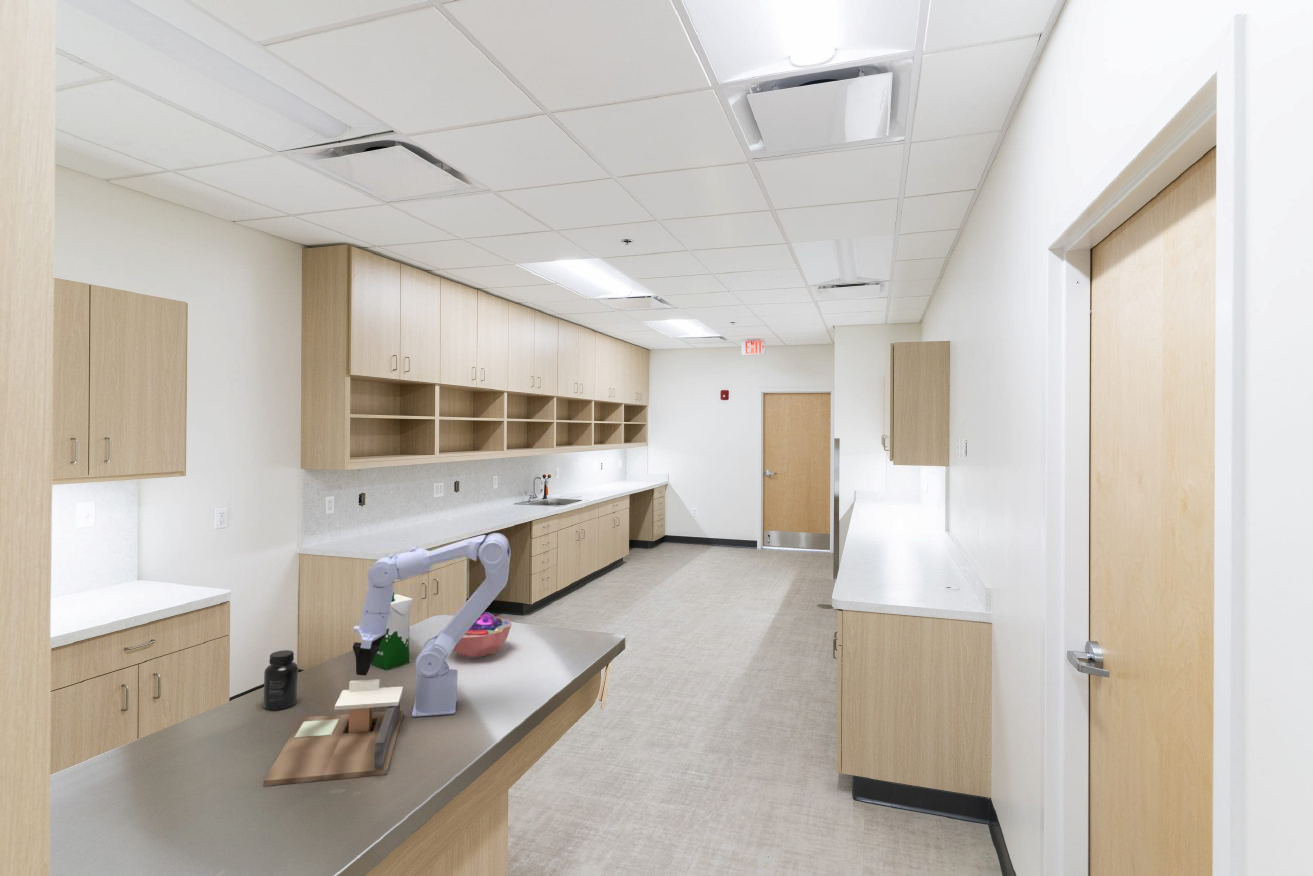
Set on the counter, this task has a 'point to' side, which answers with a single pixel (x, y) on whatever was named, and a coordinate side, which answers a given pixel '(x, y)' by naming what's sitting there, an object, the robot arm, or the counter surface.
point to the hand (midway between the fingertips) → (364, 667)
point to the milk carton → (395, 635)
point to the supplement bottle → (280, 681)
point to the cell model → (483, 636)
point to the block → (360, 720)
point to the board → (336, 749)
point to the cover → (368, 695)
